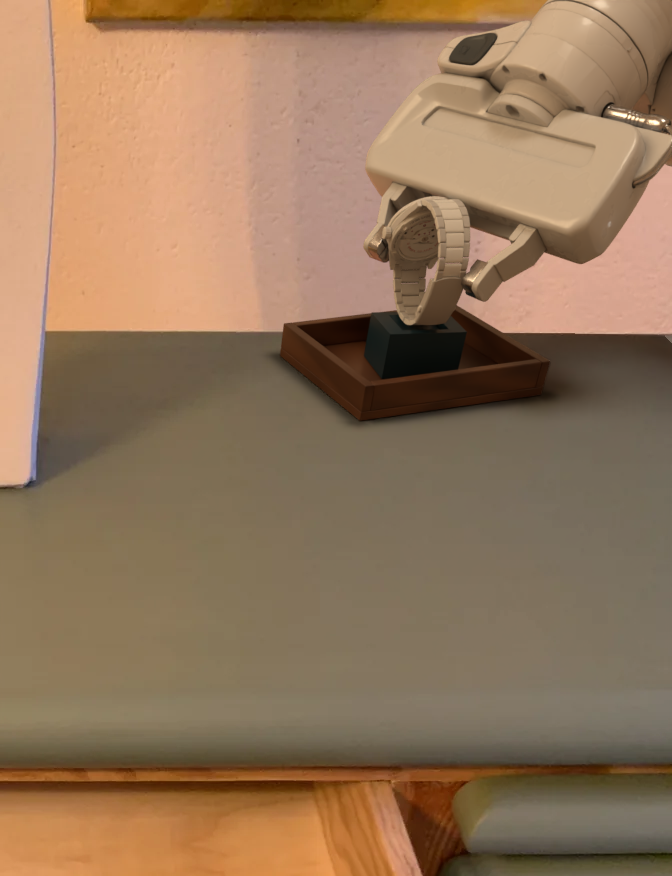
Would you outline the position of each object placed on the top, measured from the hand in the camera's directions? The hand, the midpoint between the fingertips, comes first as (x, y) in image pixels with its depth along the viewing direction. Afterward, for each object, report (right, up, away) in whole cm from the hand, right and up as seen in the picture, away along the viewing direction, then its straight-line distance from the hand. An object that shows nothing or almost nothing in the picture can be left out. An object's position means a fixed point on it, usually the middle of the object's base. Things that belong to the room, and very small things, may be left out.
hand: (420, 273), depth 79 cm
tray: (0, -5, +5) cm, 7 cm away
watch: (+1, -5, +5) cm, 7 cm away
